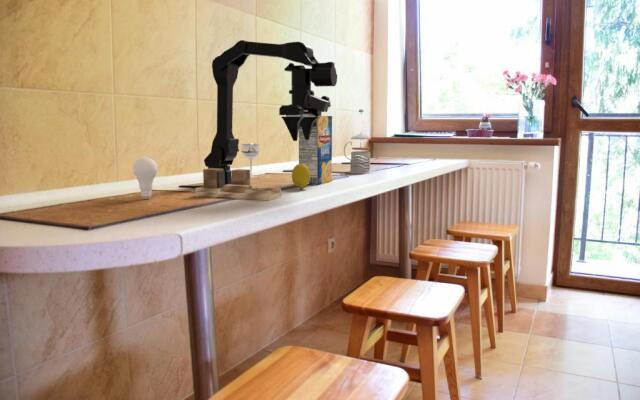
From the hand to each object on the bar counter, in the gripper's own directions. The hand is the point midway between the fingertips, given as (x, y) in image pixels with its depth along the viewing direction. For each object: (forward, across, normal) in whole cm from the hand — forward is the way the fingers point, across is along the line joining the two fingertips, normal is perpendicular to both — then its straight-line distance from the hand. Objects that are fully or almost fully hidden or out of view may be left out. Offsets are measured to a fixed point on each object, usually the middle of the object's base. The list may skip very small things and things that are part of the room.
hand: (301, 140), depth 163 cm
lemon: (+15, 0, 0) cm, 15 cm away
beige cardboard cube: (+15, -8, +16) cm, 23 cm away
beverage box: (+15, +18, +2) cm, 23 cm away
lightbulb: (+15, -34, +30) cm, 48 cm away
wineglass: (+15, +26, +30) cm, 42 cm away
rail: (+15, -21, +10) cm, 27 cm away
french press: (+15, +59, 0) cm, 61 cm away
